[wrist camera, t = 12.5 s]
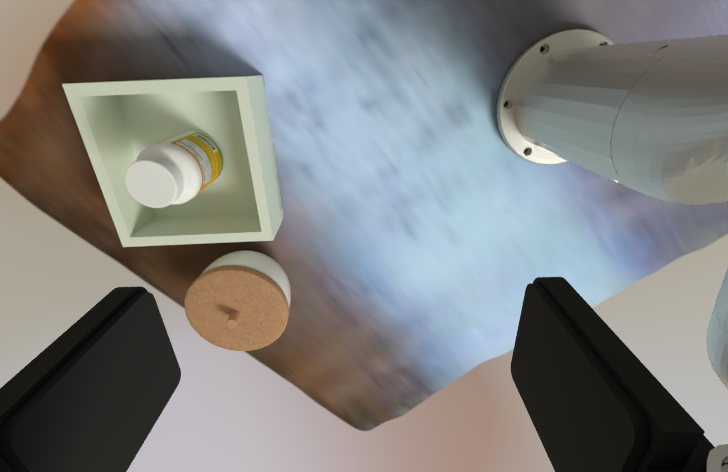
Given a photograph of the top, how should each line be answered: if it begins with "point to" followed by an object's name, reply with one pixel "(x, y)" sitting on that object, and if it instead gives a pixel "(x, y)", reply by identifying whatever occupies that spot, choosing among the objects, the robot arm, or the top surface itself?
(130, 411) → the robot arm
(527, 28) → the top surface
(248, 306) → the lidded jar
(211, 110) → the bin
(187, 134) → the supplement bottle
